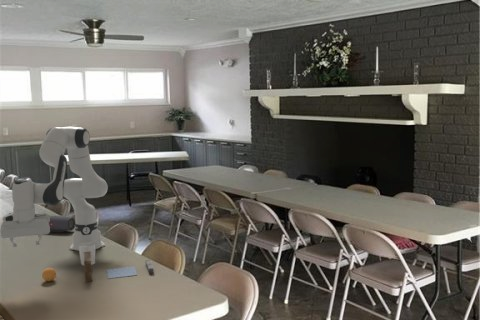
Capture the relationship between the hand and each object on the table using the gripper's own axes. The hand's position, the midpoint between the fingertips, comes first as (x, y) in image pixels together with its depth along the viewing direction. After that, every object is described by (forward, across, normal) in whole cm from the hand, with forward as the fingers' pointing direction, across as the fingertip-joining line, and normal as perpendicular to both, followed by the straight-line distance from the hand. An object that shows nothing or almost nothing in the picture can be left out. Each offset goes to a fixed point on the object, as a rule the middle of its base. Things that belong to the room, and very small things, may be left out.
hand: (26, 245), depth 230 cm
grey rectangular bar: (+17, -54, 0) cm, 56 cm away
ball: (+14, -9, -1) cm, 17 cm away
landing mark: (+17, -41, 0) cm, 44 cm away
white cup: (+17, -26, -21) cm, 37 cm away
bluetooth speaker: (+15, -8, -96) cm, 98 cm away
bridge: (+17, -26, -1) cm, 31 cm away
